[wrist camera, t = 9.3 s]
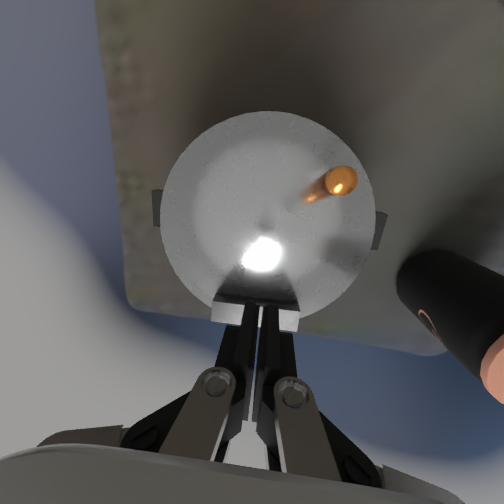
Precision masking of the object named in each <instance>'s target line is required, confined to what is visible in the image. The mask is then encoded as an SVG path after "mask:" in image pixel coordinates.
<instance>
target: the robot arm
mask: <svg viewBox="0 0 504 504" xmlns="http://www.w3.org/2000/svg"><path fill="white" fill-rule="evenodd" d="M503 1H504V0H503ZM259 310H260V305H256V302H253V301H245V306H244V311H243V316H242V321H241V326H232V325H227V326H226V329H225V332H224V336H223V339H222V342H221V346H220V349H219V353H218V356H217V360H216V363H215V367H212V368H209V369H206V370H205V371H204V372H203V373H201V375H200V376H199V377H198V379H197V381H196V383H195V385H194V387H193V388H192V390H191V391H190V392H188V393H186V394H185V395H183V396H181V397H179V398H178V399H176V400H174V401H172V402H171V403H169V404H167V405H166V406H164V407H162V408H161V409H159V410H157V411H155V412H154V413H152V414H150V415H148V416H147V417H145V418H143V419H142V420H140V421H138V422H137V423H136V424H134V425H133V426H132V427H130V428H124V426H123V425H117V426H106V427H96V428H86V429H76V430H66V431H61V432H58V433H55V434H53V435H51V436H49V437H48V438H46V439H45V440H43V441H42V442H41V443H40V444H39V445H38V446H37V447H35V448H30V449H26V450H23V451H19V452H16V453H13V454H10V455H7V456H4V457H1V458H0V504H465V503H464V502H463V501H461V500H460V499H459V498H458V497H457V496H456V495H454V494H452V493H451V492H449V491H447V490H445V489H443V488H440V487H437V486H435V485H433V484H430V483H428V482H425V481H423V480H420V479H417V478H415V477H412V476H410V475H408V474H405V473H403V472H400V471H398V470H395V469H393V468H390V467H388V466H385V465H383V464H382V465H381V467H378V466H376V465H374V464H373V462H372V461H371V460H370V459H369V458H368V457H367V456H366V455H365V454H364V453H363V452H362V451H361V450H360V449H359V448H358V447H357V446H356V445H355V444H354V443H353V442H352V441H351V440H349V439H348V438H347V437H346V436H345V435H344V434H343V433H342V432H341V431H340V430H339V429H338V428H337V427H336V426H335V425H334V424H333V423H332V422H330V421H329V420H328V419H327V418H326V417H325V416H324V415H323V414H322V413H321V412H320V411H319V410H318V408H317V405H316V402H315V399H314V396H313V393H312V391H311V389H310V387H309V386H308V385H307V384H306V383H305V382H303V381H302V380H301V379H298V378H297V371H296V362H295V353H294V345H293V335H292V333H287V332H280V331H279V305H278V304H269V303H268V305H267V306H263V312H262V320H261V328H260V336H259V345H258V354H257V365H256V379H255V389H254V401H253V414H252V422H257V427H256V428H257V429H256V432H257V434H258V435H259V436H260V438H261V439H262V440H263V441H264V443H265V448H264V450H265V460H266V470H265V469H257V468H252V467H245V466H239V465H233V464H226V463H225V461H226V458H227V454H228V450H229V447H230V443H231V439H232V438H233V437H234V436H235V435H237V434H238V433H239V432H240V431H241V427H242V420H245V421H248V413H249V404H250V396H251V388H252V380H253V371H254V362H255V352H256V340H257V331H258V320H259Z"/></svg>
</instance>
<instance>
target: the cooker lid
mask: <svg viewBox="0 0 504 504" xmlns="http://www.w3.org/2000/svg"><path fill="white" fill-rule="evenodd" d="M375 219H376V214H375V201H374V197H373V192H372V188H371V185H370V182H369V180H368V177H367V174H366V172H365V170H364V168H363V167H362V165H361V163H360V161H359V160H358V158H357V157H356V156H355V154H354V153H353V152H352V150H351V149H350V148H349V147H348V146H347V145H346V144H345V143H344V142H343V141H342V140H341V139H340V138H339V137H338V136H337V135H335V134H334V133H333V132H331V131H330V130H328V129H327V128H325V127H324V126H322V125H320V124H318V123H316V122H314V121H312V120H310V119H307V118H304V117H301V116H298V115H295V114H290V113H283V112H272V111H260V112H253V113H246V114H242V115H239V116H235V117H232V118H229V119H227V120H225V121H222V122H220V123H218V124H216V125H214V126H213V127H211V128H209V129H208V130H206V131H205V132H203V133H202V134H201V135H200V136H198V137H197V138H196V139H195V140H194V141H193V142H192V143H190V145H189V146H188V147H187V148H186V149H185V150H184V152H183V153H182V154H181V155H180V157H179V158H178V160H177V161H176V163H175V165H174V166H173V168H172V170H171V172H170V174H169V177H168V179H167V181H166V184H165V188H164V191H163V195H162V201H161V207H160V227H161V236H162V240H163V244H164V248H165V251H166V254H167V256H168V259H169V261H170V263H171V265H172V267H173V269H174V271H175V272H176V274H177V275H178V277H179V278H180V280H181V281H182V282H183V284H184V285H185V286H186V287H187V288H188V289H189V290H190V291H191V292H192V293H193V294H194V295H195V296H196V297H197V298H198V299H199V300H201V301H202V302H204V303H205V304H206V305H208V306H209V307H211V308H212V318H211V321H214V322H222V323H230V324H239V325H241V321H242V316H243V311H244V306H245V301H253V302H256V305H260V310H259V320H258V327H261V320H262V312H263V306H267V305H268V303H269V304H278V305H279V329H280V330H288V331H296V332H297V328H298V322H299V318H302V317H305V316H307V315H310V314H312V313H315V312H317V311H318V310H320V309H322V308H324V307H326V306H327V305H328V304H330V303H331V302H333V301H334V300H336V299H337V298H338V297H339V296H340V295H341V294H342V293H343V292H344V291H346V289H347V288H348V287H349V286H350V285H351V284H352V282H353V281H354V280H355V278H356V277H357V275H358V274H359V272H360V271H361V269H362V267H363V265H364V263H365V261H366V259H367V257H368V255H369V252H370V249H371V246H372V242H373V237H374V232H375Z"/></svg>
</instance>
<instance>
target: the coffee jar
mask: <svg viewBox="0 0 504 504" xmlns="http://www.w3.org/2000/svg"><path fill="white" fill-rule="evenodd" d="M397 294H398V296H399V298H400V300H401V301H402V302H403V303H404V305H405V306H406V307H407V308H408V309H409V310H410V311H411V312H412V313H413V314H414V315H415V316H416V317H417V318H418V319H419V320H420V321H421V322H422V323H423V324H424V325H425V326H426V327H427V328H428V329H429V330H430V331H431V333H432V334H433V335H434V336H435V337H436V338H437V339H438V340H439V341H440V342H441V343H442V344H443V345H444V346H445V347H446V348H447V349H448V350H449V351H450V352H451V353H452V354H453V355H454V356H455V357H456V358H457V359H458V361H460V363H461V364H462V365H463V366H464V367H465V368H466V369H467V370H468V371H469V372H470V373H472V375H474V376H475V377H476V378H477V379H478V380H480V381H481V382H483V383H484V386H485V387H486V389H487V390H488V391H489V392H490V393H491V394H492V395H493V396H494V397H495V398H496V399H497V400H499V402H501V403H503V404H504V276H502V275H500V274H498V273H496V272H494V271H492V270H490V269H488V268H486V267H483V266H481V265H479V264H477V263H475V262H473V261H471V260H469V259H467V258H464V257H462V256H460V255H458V254H456V253H453V252H451V251H442V250H437V251H431V252H426V253H423V254H421V255H418V256H416V257H414V258H413V259H411V260H410V261H409V262H408V263H406V264H405V265H404V267H403V268H402V270H401V271H400V273H399V276H398V279H397Z"/></svg>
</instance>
